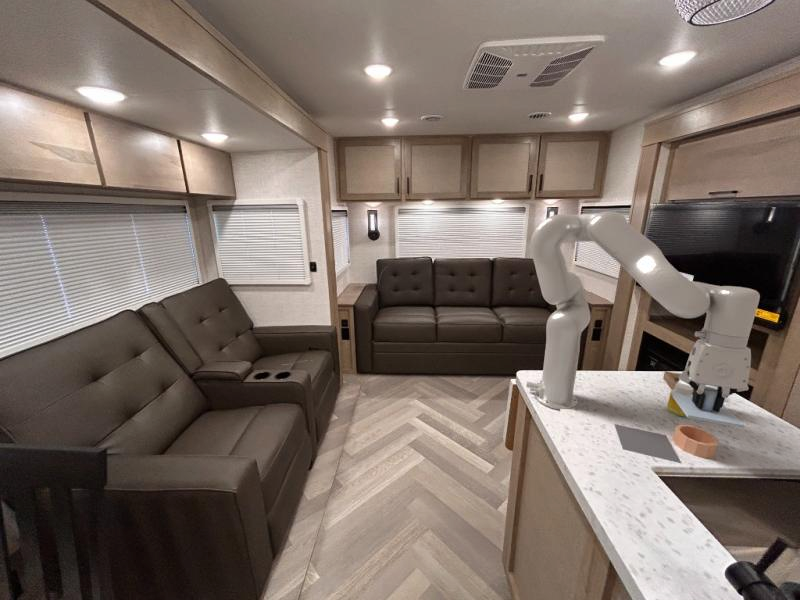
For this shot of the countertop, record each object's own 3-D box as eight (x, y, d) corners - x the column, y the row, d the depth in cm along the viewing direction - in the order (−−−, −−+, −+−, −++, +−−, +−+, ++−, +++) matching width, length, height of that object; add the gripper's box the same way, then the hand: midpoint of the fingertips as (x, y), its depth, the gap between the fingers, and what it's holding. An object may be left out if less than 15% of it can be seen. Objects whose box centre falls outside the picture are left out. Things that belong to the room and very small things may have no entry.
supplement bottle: (669, 407, 99) (676, 380, 97) (691, 415, 95) (699, 387, 92) (663, 412, 96) (669, 385, 94) (685, 422, 92) (693, 393, 90)
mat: (622, 451, 81) (622, 449, 80) (613, 426, 90) (614, 424, 90) (681, 466, 76) (681, 463, 76) (665, 437, 86) (665, 435, 85)
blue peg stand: (687, 417, 76) (693, 395, 74) (672, 396, 85) (677, 376, 83) (743, 427, 72) (750, 404, 70) (721, 404, 81) (726, 383, 79)
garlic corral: (674, 392, 107) (675, 385, 106) (663, 378, 117) (664, 371, 116) (715, 400, 103) (718, 392, 102) (700, 384, 112) (703, 376, 112)
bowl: (679, 454, 79) (682, 440, 78) (667, 435, 87) (671, 421, 85) (720, 464, 76) (725, 449, 75) (705, 443, 83) (709, 429, 82)
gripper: (686, 339, 73) (670, 408, 78) (782, 350, 67) (759, 424, 72) (674, 329, 80) (660, 393, 85) (760, 338, 74) (740, 406, 78)
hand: (705, 406), depth 78 cm, fingers closed on blue peg stand, 2 cm apart
